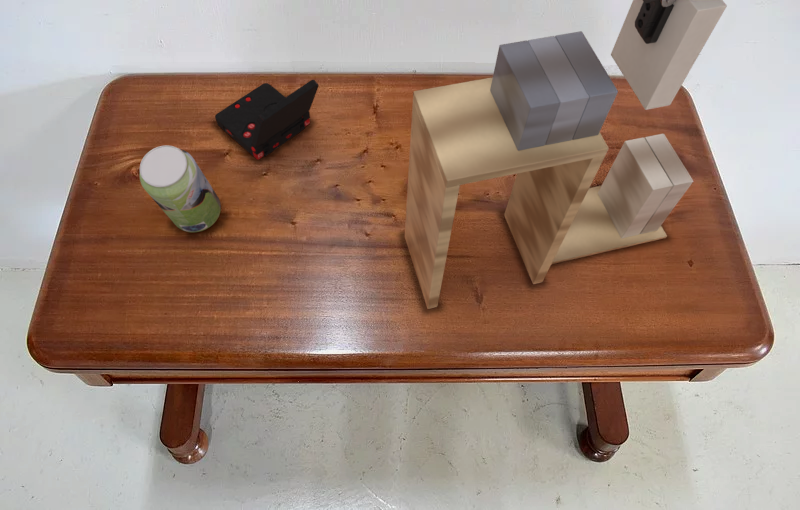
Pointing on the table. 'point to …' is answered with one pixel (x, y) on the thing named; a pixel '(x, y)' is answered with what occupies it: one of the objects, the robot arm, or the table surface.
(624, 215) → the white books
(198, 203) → the beverage can
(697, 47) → the white book
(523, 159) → the wooden stand
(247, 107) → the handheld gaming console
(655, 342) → the table surface
